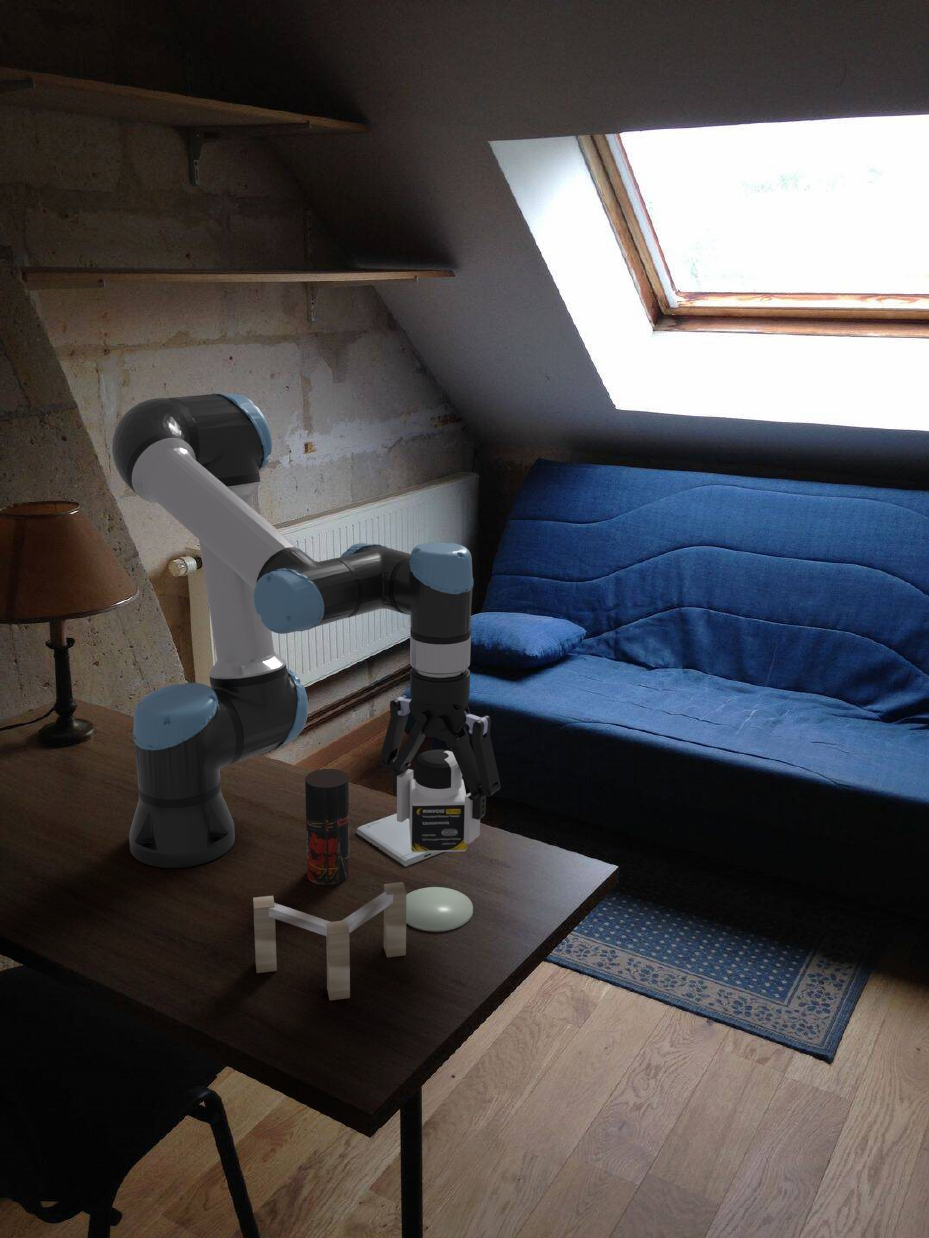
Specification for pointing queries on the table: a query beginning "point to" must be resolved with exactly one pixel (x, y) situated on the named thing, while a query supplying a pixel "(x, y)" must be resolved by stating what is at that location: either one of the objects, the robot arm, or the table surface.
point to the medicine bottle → (437, 804)
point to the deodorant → (327, 826)
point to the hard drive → (393, 839)
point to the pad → (437, 909)
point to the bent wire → (332, 933)
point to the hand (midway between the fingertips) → (437, 828)
